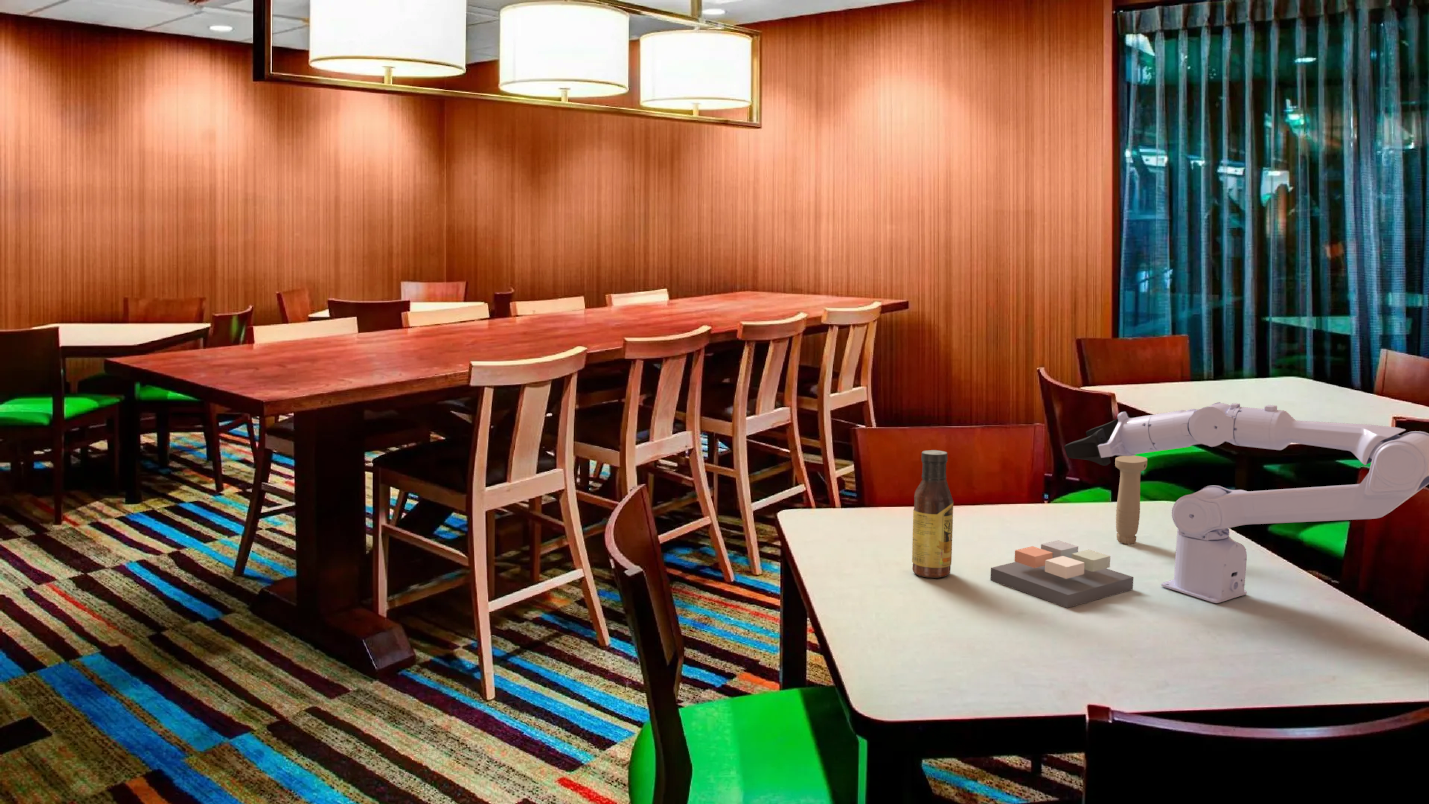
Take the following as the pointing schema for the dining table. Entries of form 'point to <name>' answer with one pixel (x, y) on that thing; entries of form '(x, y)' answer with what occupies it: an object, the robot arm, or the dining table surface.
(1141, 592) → the dining table surface
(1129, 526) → the handle
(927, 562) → the sauce bottle
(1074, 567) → the key cream
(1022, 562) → the key terracotta
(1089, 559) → the key sage
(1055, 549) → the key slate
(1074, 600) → the keypad base
